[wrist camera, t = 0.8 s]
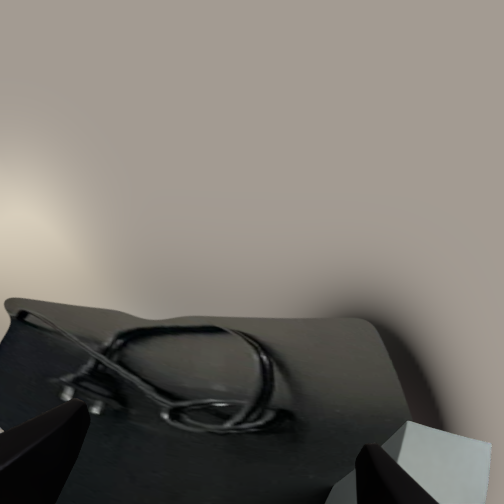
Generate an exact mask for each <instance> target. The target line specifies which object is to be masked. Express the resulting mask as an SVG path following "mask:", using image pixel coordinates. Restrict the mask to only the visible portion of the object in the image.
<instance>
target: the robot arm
mask: <svg viewBox="0 0 504 504" xmlns="http://www.w3.org/2000/svg"><path fill="white" fill-rule="evenodd" d="M89 425H90V415H89V412H88V408H87V405H86V403H85V402H84V401H82V400H79V399H76V398H74V399H71V400H69V401H67V402H65V403H63V404H61V405H59V406H57V407H55V408H53V409H51V410H49V411H47V412H45V413H43V414H41V415H39V416H36V417H34V418H32V419H30V420H28V421H26V422H24V423H22V424H20V425H17V426H15V427H13V428H11V429H9V430H7V431H4V432H2V433H0V504H55V503H56V501H57V499H58V497H59V495H60V493H61V491H62V488H63V486H64V484H65V482H66V480H67V478H68V476H69V474H70V472H71V470H72V468H73V466H74V464H75V462H76V460H77V458H78V455H79V452H80V450H81V447H82V444H83V441H84V438H85V436H86V433H87V430H88V428H89ZM355 470H356V498H357V504H439V503H438V502H437V501H436V500H435V499H434V498H433V497H432V496H431V495H430V494H429V493H428V492H427V491H426V490H425V489H423V488H422V487H421V486H420V485H419V484H418V483H417V482H416V481H415V480H414V479H413V478H412V477H411V476H410V475H409V474H408V473H407V472H406V471H405V470H404V469H403V468H402V467H401V466H400V465H399V464H398V463H397V462H396V461H395V460H394V459H393V458H392V457H391V456H390V455H389V454H388V453H387V452H386V451H385V450H384V449H383V448H382V447H381V446H380V445H379V444H377V443H368V444H365V445H364V446H363V448H362V449H361V451H360V453H359V454H358V456H357V458H356V461H355Z"/></svg>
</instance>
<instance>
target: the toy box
mask: <svg viewBox="0 0 504 504" xmlns="http://www.w3.org/2000/svg"><path fill="white" fill-rule="evenodd" d="M381 447H382V448H383V449H384V450H385V451H386V452H387V453H388V454H389V455H390V456H391V457H392V458H393V459H394V460H395V461H396V462H397V463H398V464H399V465H400V466H401V467H402V468H403V469H404V470H405V471H406V472H407V473H408V474H409V475H410V476H411V477H412V478H413V479H414V480H415V481H416V482H417V483H418V484H419V485H420V486H421V487H422V488H423V489H425V490H426V491H427V492H428V493H429V494H430V495H431V496H432V497H433V498H434V499H435V500H436V501H437V502H438V503H439V504H485V501H486V495H487V488H488V480H489V471H490V461H491V443H488V442H484V441H479V440H475V439H471V438H467V437H463V436H459V435H455V434H452V433H448V432H444V431H440V430H437V429H434V428H430V427H427V426H423V425H420V424H417V423H414V422H411V421H407V422H406V423H405V424H404V425H403V426H402V427H401V428H400V429H399V430H398V431H397V432H396V433H395V434H394V435H393V436H392V437H391V438H390V439H388V440H387V441H386V442H385V443H384V444H383V445H382V446H381ZM325 504H357V498H356V470H355V469H354V470H353V471H352V472H351V473H349V474H348V475H347V476H345V477H344V478H343V479H342V480H340V481H339V482H338V483H336V484H335V485H334V486H333V488H332V490H331V492H330V494H329V496H328V498H327V500H326V502H325Z"/></svg>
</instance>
